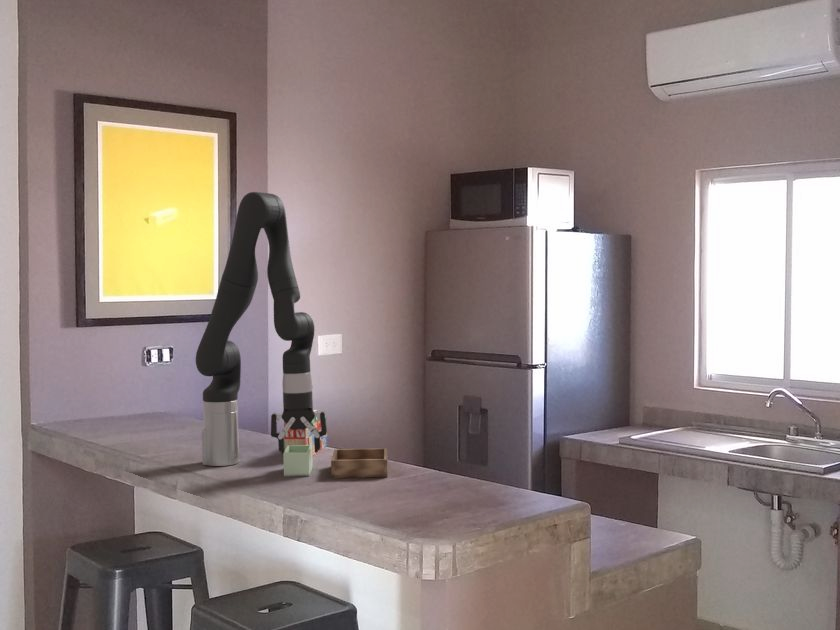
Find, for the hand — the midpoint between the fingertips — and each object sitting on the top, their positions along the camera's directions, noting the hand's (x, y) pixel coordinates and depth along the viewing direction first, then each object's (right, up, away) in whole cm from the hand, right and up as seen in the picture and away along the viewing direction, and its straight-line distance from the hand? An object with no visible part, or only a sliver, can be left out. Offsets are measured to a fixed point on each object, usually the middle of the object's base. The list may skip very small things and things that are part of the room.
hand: (299, 452), depth 245 cm
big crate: (+16, -5, 0) cm, 16 cm away
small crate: (0, -5, +1) cm, 5 cm away
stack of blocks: (-1, -4, +26) cm, 26 cm away
